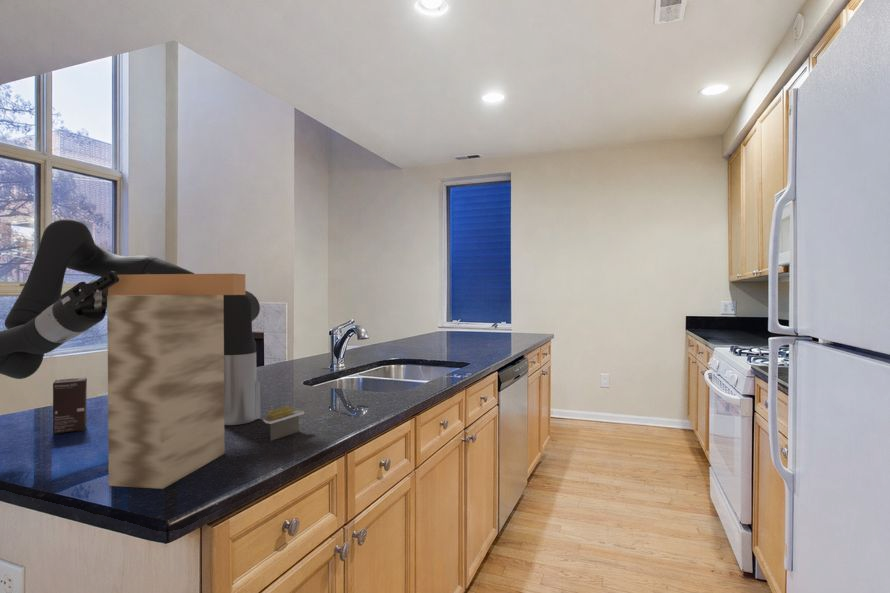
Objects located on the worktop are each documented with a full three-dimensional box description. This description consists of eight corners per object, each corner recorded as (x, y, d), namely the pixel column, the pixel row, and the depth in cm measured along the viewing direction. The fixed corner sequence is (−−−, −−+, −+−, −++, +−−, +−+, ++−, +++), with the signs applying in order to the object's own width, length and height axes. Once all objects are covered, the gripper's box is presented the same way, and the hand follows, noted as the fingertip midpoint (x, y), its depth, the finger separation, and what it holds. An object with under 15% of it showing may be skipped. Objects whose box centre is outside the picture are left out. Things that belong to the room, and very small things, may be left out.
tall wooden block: (108, 485, 78) (107, 295, 78) (179, 451, 95) (177, 295, 95) (163, 488, 77) (161, 295, 76) (224, 453, 94) (223, 294, 93)
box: (52, 435, 106) (52, 382, 106) (55, 430, 110) (54, 379, 110) (85, 430, 110) (85, 379, 110) (87, 426, 113) (86, 377, 113)
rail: (108, 295, 90) (107, 274, 90) (124, 295, 94) (124, 275, 94) (233, 294, 87) (233, 273, 87) (245, 294, 91) (245, 274, 91)
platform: (230, 444, 101) (229, 414, 101) (294, 423, 116) (294, 397, 116) (267, 453, 95) (267, 421, 95) (330, 430, 110) (330, 403, 110)
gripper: (26, 301, 86) (93, 256, 85) (93, 300, 100) (152, 262, 99) (44, 336, 86) (112, 292, 84) (109, 330, 100) (168, 292, 98)
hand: (133, 276), depth 91 cm, fingers open, 8 cm apart
